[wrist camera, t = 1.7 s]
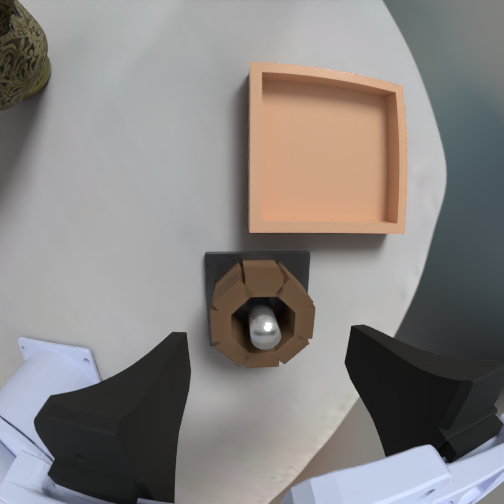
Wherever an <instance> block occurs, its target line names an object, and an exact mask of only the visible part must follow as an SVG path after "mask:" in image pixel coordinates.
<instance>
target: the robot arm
mask: <svg viewBox="0 0 504 504" xmlns="http://www.w3.org/2000/svg"><path fill="white" fill-rule="evenodd" d="M18 343H19V346H20V349H21V352H22V354H23V357H24V359H25V363H24V364H23V365H22V366H21V367H20V368H19V369H18V370H17V371H16V372H15V373H14V374H13V376H12V377H11V378H10V379H9V380H8V381H7V382H6V383H5V384H4V385H3V387H2V388H1V389H0V504H175V503H174V496H175V468H176V454H177V444H178V435H179V429H180V425H181V421H182V417H183V413H184V409H185V404H186V400H187V396H188V392H189V386H190V376H191V366H190V359H189V350H188V342H187V333H186V332H172V333H171V334H169V335H168V336H167V337H166V338H165V339H164V340H163V341H162V342H161V343H160V344H158V345H157V346H156V347H155V348H154V349H153V350H151V351H150V352H149V353H148V354H147V355H145V356H144V357H143V358H141V359H140V360H139V361H137V362H136V363H135V364H133V365H132V366H130V367H129V368H127V369H125V370H124V371H122V372H120V373H118V374H116V375H115V376H112V377H110V378H108V379H106V380H104V381H101V380H100V377H99V374H98V371H97V368H96V365H95V361H94V358H93V355H92V352H91V351H90V350H89V349H87V348H83V347H76V346H69V345H63V344H57V343H51V342H45V341H40V340H35V339H30V338H25V337H20V338H19V339H18ZM87 359H88V360H89V361H88V360H87ZM345 365H346V368H347V371H348V374H349V376H350V379H351V381H352V383H353V385H354V386H355V388H356V390H357V392H358V394H359V395H360V397H361V399H362V401H363V402H364V404H365V406H366V408H367V410H368V411H369V413H370V415H371V417H372V419H373V421H374V424H375V426H376V429H377V432H378V434H379V437H380V440H381V443H382V446H383V449H384V453H385V456H386V457H385V458H382V459H379V460H375V461H372V462H368V463H364V464H361V465H357V466H353V467H349V468H344V469H340V470H335V471H330V472H327V473H324V474H320V475H317V476H313V477H310V478H308V479H306V480H304V481H302V482H300V483H298V484H296V485H294V486H293V487H292V488H291V489H290V490H289V491H288V492H287V494H286V495H285V496H284V497H283V499H282V504H475V503H476V502H478V501H479V500H480V499H482V498H483V497H484V496H485V495H487V494H488V493H489V492H490V491H492V490H493V489H494V488H496V487H497V486H498V485H499V484H500V483H502V482H503V481H504V413H503V414H502V415H501V416H500V417H499V418H497V416H496V415H495V414H496V413H497V408H496V407H495V406H494V404H495V402H496V400H497V399H498V397H499V395H500V393H501V391H502V389H503V387H504V365H502V364H501V363H500V362H498V361H497V360H485V361H484V360H481V361H480V360H478V361H477V360H464V359H456V358H450V357H445V356H440V355H437V354H433V353H430V352H426V351H423V350H420V349H418V348H415V347H413V346H410V345H408V344H405V343H403V342H401V341H399V340H397V339H394V338H392V337H390V336H388V335H386V334H384V333H382V332H380V331H378V330H376V329H374V328H371V327H369V326H366V325H354V326H351V331H350V337H349V342H348V348H347V353H346V358H345Z"/></svg>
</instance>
